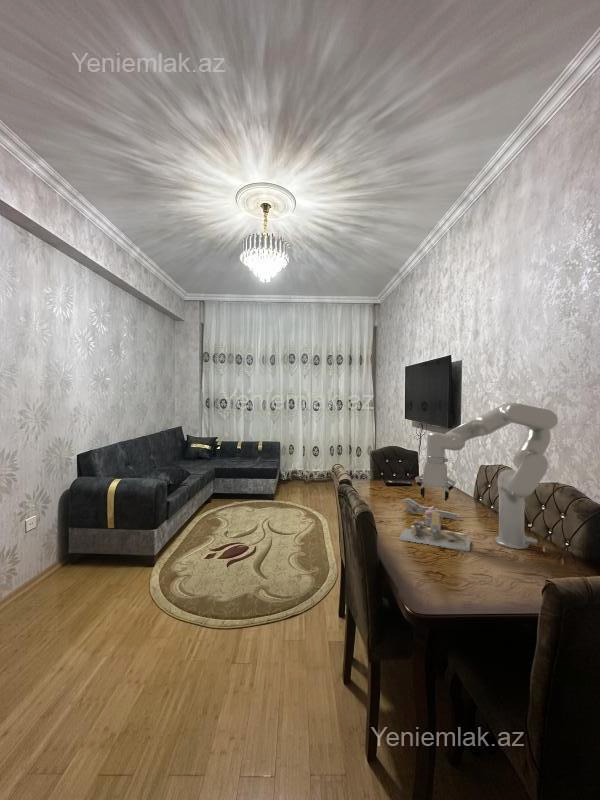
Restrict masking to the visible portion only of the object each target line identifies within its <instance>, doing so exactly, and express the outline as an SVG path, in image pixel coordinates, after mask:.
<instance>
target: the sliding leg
mask: <svg viewBox="0 0 600 800" xmlns="http://www.w3.org/2000/svg"><path fill="white" fill-rule="evenodd" d="M439 521H440V513H437V512H432V523H431V525H430V527H429V528H430V529H431V530H432V532H433V537H434V538H436V532H437V531H440V530H442V528H441V527H442V525H441V523H440V524H439Z"/></svg>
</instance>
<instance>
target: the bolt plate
mask: <svg viewBox="0 0 600 800" xmlns="http://www.w3.org/2000/svg"><path fill="white" fill-rule="evenodd" d="M399 541H403V542H409V541H410V543H415V542H416V543H417V544H421V543H423V544H422V545H427V544H429V545H428V546H433V545H434V547H438V546H441V547H440V548H444V547H445V548H446V549H451V550H456V551H463V552H468V551H469V552H470V551H471V550H470V548H471V538H470V537H466V541H464V540H457V539H451V538H445V537H439V536H436V538H434V537H433V536H432V535H426V534H420V533H419V536H416V533H414V532H411V528H407V527H405V528H404V529H403V530H402V532H401V533H400V536H399Z"/></svg>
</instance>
